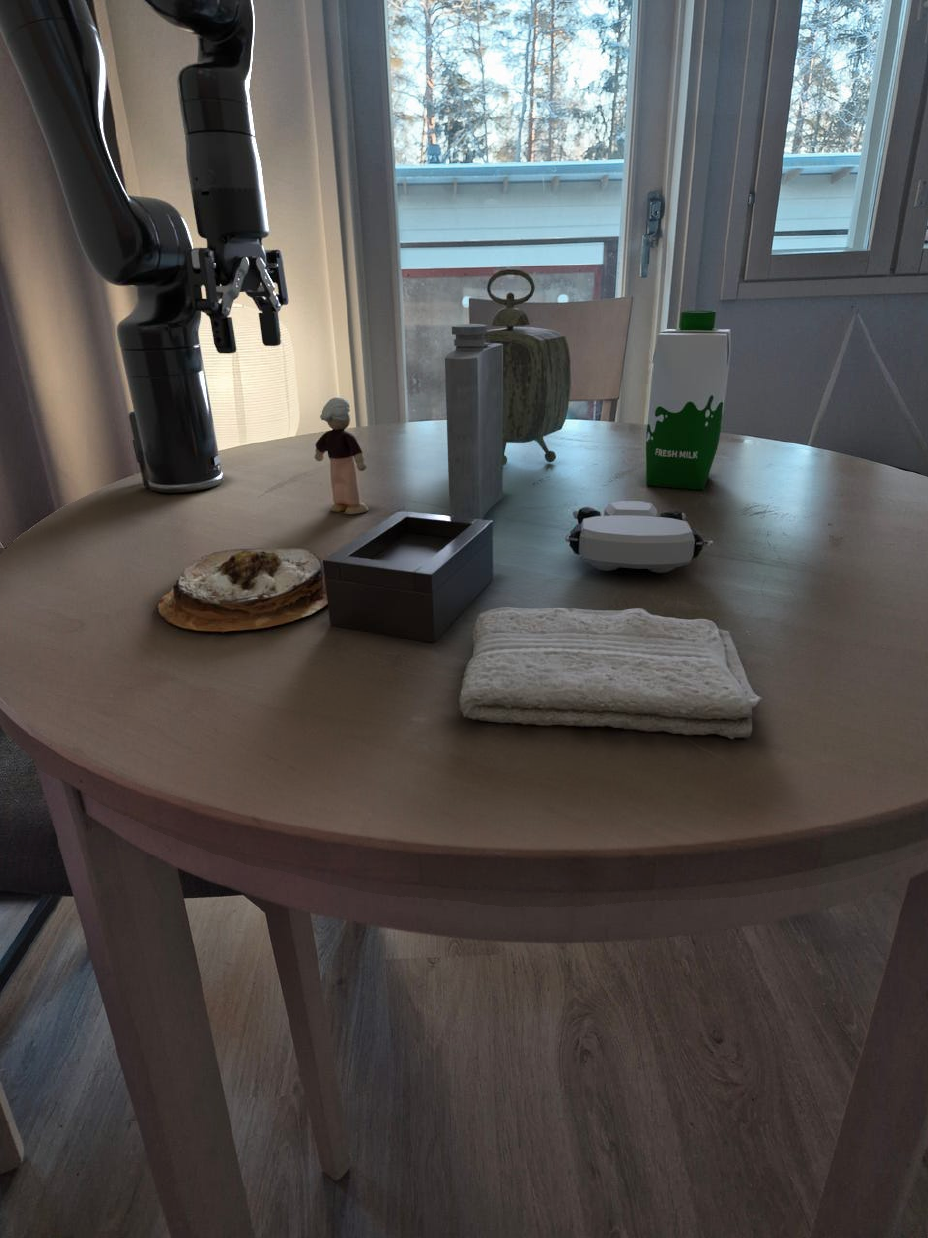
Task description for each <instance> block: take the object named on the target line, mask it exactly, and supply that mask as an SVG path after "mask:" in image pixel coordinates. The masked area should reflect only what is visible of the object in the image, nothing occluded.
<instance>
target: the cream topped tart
mask: <svg viewBox="0 0 928 1238" xmlns="http://www.w3.org/2000/svg"><path fill="white" fill-rule="evenodd" d="M182 571H183V572H182V573H181V574H180V576H179V578H178V579H177V580H176V582H175V584H174V585H173V586H172V588H171V589H170V590H169V592H166V594H164V595H162V596H161V598H160V600H159V602H158V605H157V609H158V612H159V615H160V616H161V617H162V618H164V620H165V621H167V622H168V623H169V624H173V625H174V626H177V627H180V628H181V629H186V630H191V631H199V632H232V631H236V632H237V631H247V630H248V631H249V630H250V631H251V630H257V629H258V630H259V629H265V628H270V627H274V626H278V625H284V624H287V623H290V622H294V621H296V620H299V619H301V618H305V617H307V616H310V615H312V614H314V613H316V612H317V611H319V610H320V609H323V608H325V606H327V605H328V602H327V593H326V584H325V577H324V568H323V561H322V559H321V558H320V557H318V556H317V554H315V553H313V552H311V551H310V550H307V549H303V548H297V547H287V546H284V547H267V548H266V547H257V548H236V549H226V550H219V551H213V552H211V553H210V554H205V555H204V556H202V557H201V558H199V559H197V560H196V561H195V559H194V560H193V562H192V563H190V564H189V565H188V566H187V567H186V568H185V569H184V570H182Z"/></svg>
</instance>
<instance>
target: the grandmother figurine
mask: <svg viewBox="0 0 928 1238" xmlns="http://www.w3.org/2000/svg"><path fill="white" fill-rule="evenodd" d="M350 408H351V406H350V403H349V401H348V399H346V398H344V397H339V396H336V397H332V398H330V399H329V400H328V401H327V402H326V404H324V406H323V407H322V410H321V414H320V415H319V418H320V420H321V421H325V422H326V423H327V425H328V427H329V428H330V429H331V430H327V431H326V432H324V433H323V434H322V435H321V436H320V437H319V439H318V440H317V441H316V443H315V454H314V460H316V461H317V462H322V461H323V460H324V455H325V453H326V452H327V457H328V459H329V462H330V465H329V466H330V467H329V468H330V469H329V470H330V485H331V492H332V499H333V503H334V504H333V505H332V506H331V507H330V511H331V512H335V513H336V512H337V513H338V512H343V511H344V513H345V514H347V515H356V514H363V513H366V512H368V511H369V508H368V506H367V504H365V503H363V502H361V501H360V495H359V494H360V493H359V489H358V481H357V474H356V473H357V472H356V469H357V470H358V471H360V472H363V471H365V470H366V469H367V464H366V463H365V458H364V457H365V456H364V455H363V449H362V448H361V446H360V444H359V442H358V441H357V438H356V436H355V435H354V434H352V433H351V432H349V431H347V430H346V429H348V427H349V426H350V422H351V417H350V414H349V412H350V411H351V409H350ZM355 464H356V465H355Z"/></svg>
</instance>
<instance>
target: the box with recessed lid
mask: <svg viewBox="0 0 928 1238" xmlns="http://www.w3.org/2000/svg"><path fill="white" fill-rule="evenodd" d="M322 566H323V568H324V577H325V584H326V593H327V602H328V604H327V610H328V619H329V625H330V626H333V627H338V628H344V629H351V630H356V631H362V632H368V633H375V634H379V635H385V636H391V637H398V638H404V639H409V640H415V641H422V642H428V643H433V644H434V643H436V642H437V641H438V639H440V638H441V636H442V635H443V634H444V633H445V632H446V630H448V629H449V628H450V627H451V625H452V624H454V622H455V621H456V620H457V619H458V618H459V617H460V616H461V615H462V614H463V613H464V611H466V609H467V608H468V607H469V606H470V605H471V604H472V603H473V601H474V600H475V599H476V598H477V597H478V596H480V594H481V593H482V592H483V591H484V590H485V589H486V587H488V585H490V583H491V581H493V579H494V521H493V520H492V519H483V520H482V519H472V518H463V517H453V516H450V515H443V514H442V515H441V514H432V513H422V512H414V511H403V510H399V511H397V512H395V513H394V514H392V515H390V516H389V517H387V518H386V519H385V520H382V521H381V522H379V523H378V524H377V525H375V526H373V527H371V529H369V530H367V531H365V532H364V533H363V534H361V535H360V536H358V537H357V538H355V539H353V540H352V541H350V542H349V543H347V544H345V545H343V546H342V547H340V548H339V549H338V550H336V551H334V552H333V553H332V554H330V555H329V556H327V557H325V558H324V559H322Z"/></svg>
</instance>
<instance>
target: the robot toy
mask: <svg viewBox="0 0 928 1238" xmlns="http://www.w3.org/2000/svg"><path fill="white" fill-rule="evenodd" d="M572 516H573V518H574V519H575V520H577V524H575V526H574V527H573V528H572V530H570V531H569V535H565V542H566V543H568V544H569V545H568V546H569V547H570V549H572V551H573V553H574V554H575V555H578V556H579V557H580V559H581V561H583V562H587V563H589V564H590V565H591V566H593V567H594V568H596V569H597V570H601V571H605V572H610V571H616V570H618V569H619V568H626V569H647V570H648V571H650V572H652V573H653V572H654V573H657V574H658V573H659V574H662V573H668V572H671V571H673V570H674V569H676V568H679V567H682V566H686V565H689V564H690V563H691V561H692V559H697V557H698V556H699V555H700V554H701V552H702V551H703V547H707V546H711V547H713V542H714V541H713V540H707V539H703V537H702V536H701V534H700V533H699V532H698V531H697V529H696V528H695V527H693V526H690V525H689V523H688V521H686V520H685V519H686V518H687V516H686V513H684V512H682V511H680V510H679V509H674V508H670V509H666V510H664V511H662V512H661V513H660V514H659V516H658V509H657V508H656V507H655V506H654V505H653V503H651V502H646V501H641V500H640V501H638V500H634V501H633V500H618V501H612V502H610V503H609V504H608V505H607V506H606V507H604V511H603V515H602V513H601V511H600V510H597V509H595V508H593V507H590V506H585V507H581V508H579V509H578V510H577V509H576V510H573V512H572Z"/></svg>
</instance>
